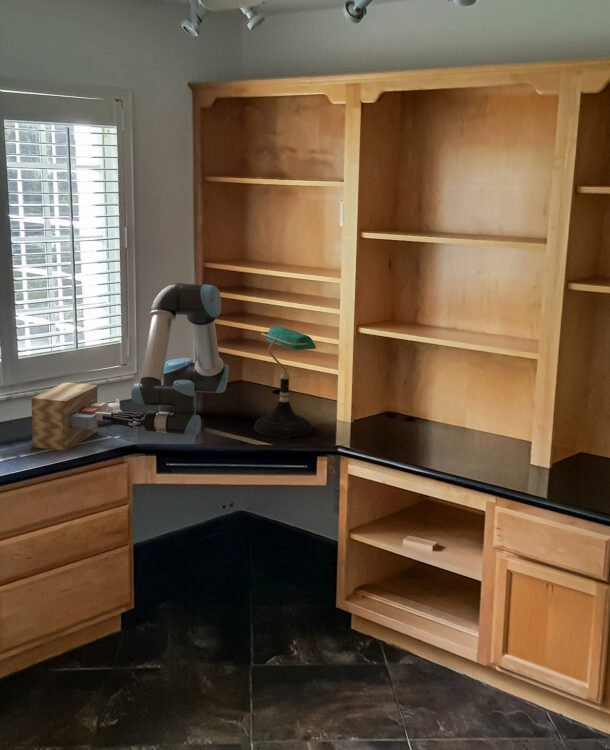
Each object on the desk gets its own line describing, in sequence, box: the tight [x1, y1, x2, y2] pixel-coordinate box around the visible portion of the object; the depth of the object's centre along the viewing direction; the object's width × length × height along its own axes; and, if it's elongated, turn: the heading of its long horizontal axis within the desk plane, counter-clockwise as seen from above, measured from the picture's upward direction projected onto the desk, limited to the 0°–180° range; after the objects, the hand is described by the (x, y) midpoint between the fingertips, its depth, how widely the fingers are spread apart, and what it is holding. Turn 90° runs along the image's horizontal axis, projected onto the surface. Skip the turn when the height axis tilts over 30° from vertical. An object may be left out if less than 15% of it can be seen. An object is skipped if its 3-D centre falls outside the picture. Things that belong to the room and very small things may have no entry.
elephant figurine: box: [101, 398, 123, 413], centre depth 353 cm, size 8×10×7 cm
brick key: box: [79, 408, 98, 421], centre depth 320 cm, size 12×4×4 cm, turn 79°
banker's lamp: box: [253, 325, 317, 439], centre depth 343 cm, size 26×23×40 cm
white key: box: [89, 402, 107, 413], centre depth 327 cm, size 12×4×4 cm, turn 79°
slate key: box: [69, 413, 96, 429], centre depth 311 cm, size 12×4×4 cm, turn 79°
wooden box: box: [31, 381, 99, 452], centre depth 321 cm, size 13×26×18 cm, turn 169°
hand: (95, 415), depth 318 cm, fingers closed
